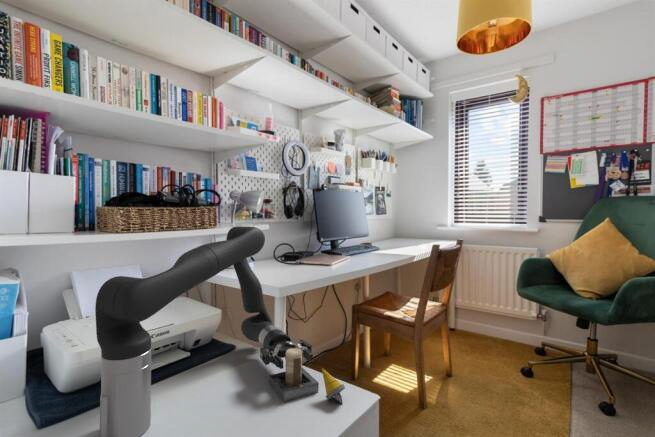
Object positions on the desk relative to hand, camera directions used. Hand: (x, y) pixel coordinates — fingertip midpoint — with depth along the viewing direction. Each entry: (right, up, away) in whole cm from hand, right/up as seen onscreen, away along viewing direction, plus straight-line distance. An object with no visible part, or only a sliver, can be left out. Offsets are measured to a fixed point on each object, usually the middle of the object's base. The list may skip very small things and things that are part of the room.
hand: (297, 361), depth 88 cm
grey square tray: (-1, -8, +2) cm, 8 cm away
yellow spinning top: (+9, -8, -4) cm, 13 cm away
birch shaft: (-1, -8, +2) cm, 8 cm away
